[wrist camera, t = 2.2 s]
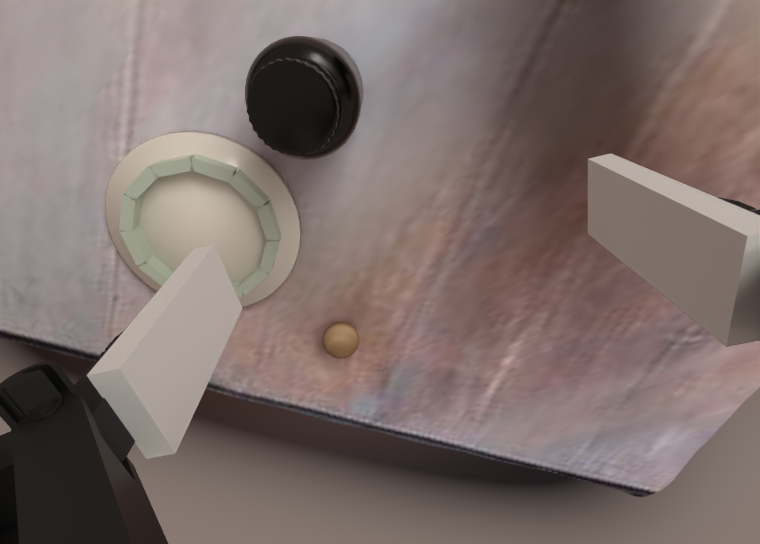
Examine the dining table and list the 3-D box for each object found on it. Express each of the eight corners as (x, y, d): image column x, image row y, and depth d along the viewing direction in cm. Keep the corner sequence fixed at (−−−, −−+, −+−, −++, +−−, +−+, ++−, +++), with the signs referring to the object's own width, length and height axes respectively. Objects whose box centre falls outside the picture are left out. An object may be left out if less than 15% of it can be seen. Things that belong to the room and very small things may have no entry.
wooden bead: (320, 318, 42) (317, 339, 39) (355, 312, 42) (354, 333, 39) (329, 346, 44) (326, 368, 41) (362, 340, 43) (362, 362, 40)
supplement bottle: (314, 15, 30) (287, -3, 20) (381, 90, 33) (389, 110, 22) (253, 88, 32) (198, 108, 22) (320, 153, 35) (300, 200, 24)
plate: (75, 151, 34) (58, 157, 32) (270, 113, 33) (264, 117, 31) (159, 316, 41) (148, 329, 39) (320, 288, 40) (318, 300, 39)
